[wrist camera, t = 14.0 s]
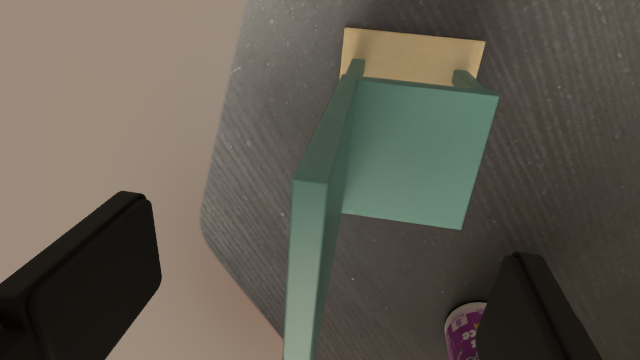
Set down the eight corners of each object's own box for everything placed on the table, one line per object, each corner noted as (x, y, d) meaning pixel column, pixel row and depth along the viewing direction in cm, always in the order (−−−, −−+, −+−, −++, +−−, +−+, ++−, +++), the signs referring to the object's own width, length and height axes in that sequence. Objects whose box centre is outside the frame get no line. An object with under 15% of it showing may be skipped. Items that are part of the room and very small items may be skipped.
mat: (345, 27, 23) (344, 27, 23) (484, 41, 22) (485, 41, 22) (329, 179, 27) (329, 180, 27) (445, 195, 27) (445, 196, 26)
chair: (350, 56, 23) (291, 177, 8) (470, 69, 23) (647, 226, 7) (338, 162, 26) (279, 393, 11) (443, 176, 26) (530, 441, 11)
